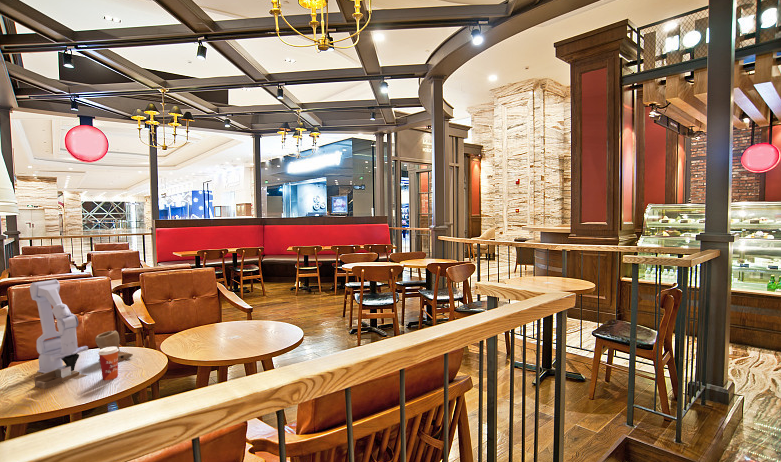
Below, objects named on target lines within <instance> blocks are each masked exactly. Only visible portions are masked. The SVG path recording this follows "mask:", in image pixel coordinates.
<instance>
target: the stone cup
mask: <svg viewBox="0 0 781 462" xmlns="http://www.w3.org/2000/svg"><path fill="white" fill-rule="evenodd" d="M94 339H95V343H96V346H97V347H98V349H99V351H100V350H101V349H103V348H107V347H117V348H118V349H119V351H118V362H121V361H123V360H124V361H126V360H129V359H130V358H131V357H132V356H133V355H134V354H133V353H130V352H126V351H120V341H121V339H120V335H119V332H118V331H117V330H108V331H105V332H102V333H99V334H97V335H96V336H95V338H94ZM124 361H123V362H124Z"/></svg>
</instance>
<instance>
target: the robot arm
mask: <svg viewBox="0 0 781 462" xmlns="http://www.w3.org/2000/svg"><path fill="white" fill-rule="evenodd" d="M60 290H61V283H60V281H59V280H57V278H55V279H51V280H44V281H43V280H42V281H37V282H35V281H34V282H32V283H31V284H30V286H29V292H30V297H31V300H32V301H35V302H36V305H37V310H38V316H39V320H40V325H41V330H42V334H41V335H40V336H39V337H38V338H37V339H36V351H37V353H38V354H39V356H38V370H36V372H38V373H42V374H44V373H47V372H50V371H53V370H55V369H56V368H58V367H61V366H64V364H65V365H67V366H71V371H75V369H76V364H77V361H78V360H79V358H80V354H79V353H82V352H83V353H84V352H87V351H89V345H88V346H87V345H83V346H80V347H79V346H78V338H77V336H78V335H77V327H79V319H78V317H77V315H76V314H74V313H72V312H71V310H70V308H69V306H68V305H67V304H65V303H63V302H62V301H63V300H62V299H61V296H60ZM54 317H55V319H54ZM55 320H56V322H55ZM55 323H56V324H55ZM56 327H57V328H56ZM57 330H58V331H57ZM63 363H64V364H63Z"/></svg>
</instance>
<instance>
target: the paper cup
mask: <svg viewBox="0 0 781 462" xmlns="http://www.w3.org/2000/svg"><path fill="white" fill-rule="evenodd" d="M119 350H120V348H119V349H118V348H117V347H107V348H103V349H101V350H100V349H99V351H98V353H97V355H99V363H100V364H99V365H100V369H101V376H102V377H101V378H102V381H112V380H114V379H116V378H117V377H118V376H119V361H118V351H119Z"/></svg>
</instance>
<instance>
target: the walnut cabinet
mask: <svg viewBox="0 0 781 462" xmlns="http://www.w3.org/2000/svg"><path fill="white" fill-rule="evenodd" d="M87 376H88V375H87V374H83V373H80V371H76V370H74V371H71V375H69V376H66V377H64V378H62V377H60V378H58V377H56V373H55V370H53V371H50V372H47V373H42V374H38V375H36V376H34V377H33V378H34V387H35V388H38V389H39V388H40V389H43V390H47V389H50V388H53V387H54V386H57V385H60V384H62V383H63V382H64V381H67V380H69V379H74V380H79V379H82V378H85V377H87Z"/></svg>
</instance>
